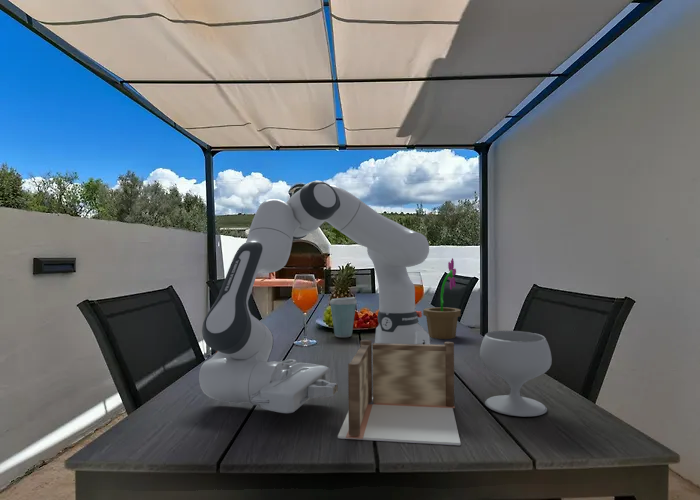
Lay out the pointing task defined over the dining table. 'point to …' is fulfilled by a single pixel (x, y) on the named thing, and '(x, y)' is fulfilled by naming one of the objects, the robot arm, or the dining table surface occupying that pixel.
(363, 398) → the fence panel
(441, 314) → the flowerpot
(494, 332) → the chalice
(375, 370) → the fence fixed
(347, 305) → the disposable coffee cup
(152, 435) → the dining table surface
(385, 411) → the card
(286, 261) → the robot arm
